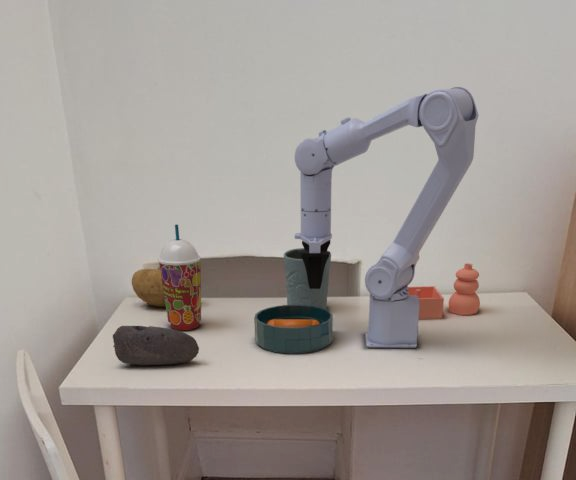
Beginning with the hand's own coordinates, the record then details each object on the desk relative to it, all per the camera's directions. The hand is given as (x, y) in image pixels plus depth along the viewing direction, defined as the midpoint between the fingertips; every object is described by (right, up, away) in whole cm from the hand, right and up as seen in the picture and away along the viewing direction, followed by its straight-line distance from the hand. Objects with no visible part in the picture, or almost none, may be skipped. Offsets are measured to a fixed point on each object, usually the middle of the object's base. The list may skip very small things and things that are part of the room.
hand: (315, 283), depth 147 cm
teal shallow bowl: (-4, -12, -1) cm, 12 cm away
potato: (-33, +1, +21) cm, 39 cm away
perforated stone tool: (-29, -18, -11) cm, 36 cm away
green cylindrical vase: (-1, -1, +17) cm, 17 cm away
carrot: (-4, -11, -1) cm, 12 cm away
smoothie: (-27, -7, +8) cm, 29 cm away
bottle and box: (+27, -2, +14) cm, 30 cm away
